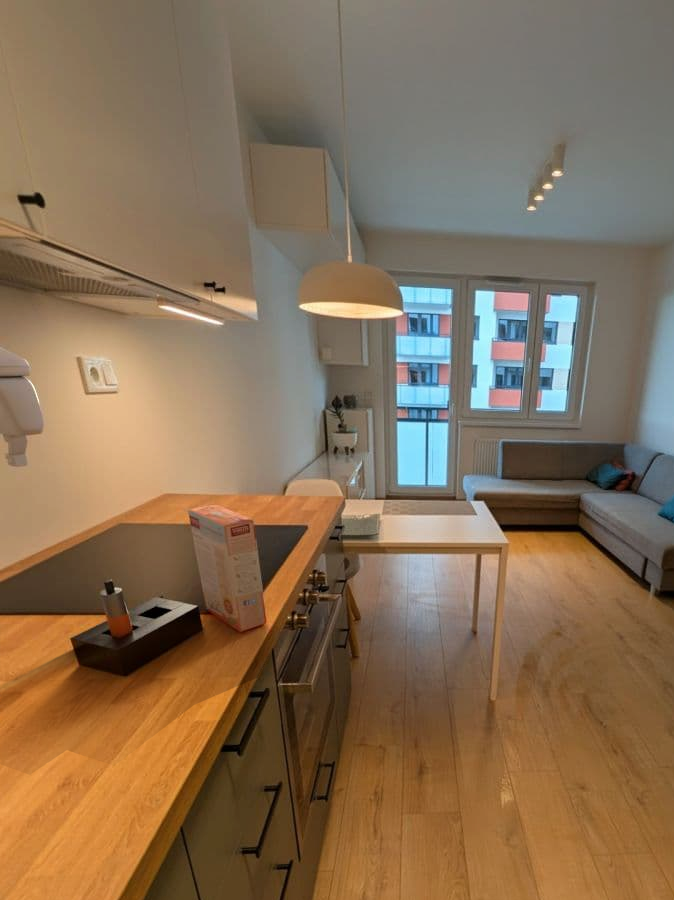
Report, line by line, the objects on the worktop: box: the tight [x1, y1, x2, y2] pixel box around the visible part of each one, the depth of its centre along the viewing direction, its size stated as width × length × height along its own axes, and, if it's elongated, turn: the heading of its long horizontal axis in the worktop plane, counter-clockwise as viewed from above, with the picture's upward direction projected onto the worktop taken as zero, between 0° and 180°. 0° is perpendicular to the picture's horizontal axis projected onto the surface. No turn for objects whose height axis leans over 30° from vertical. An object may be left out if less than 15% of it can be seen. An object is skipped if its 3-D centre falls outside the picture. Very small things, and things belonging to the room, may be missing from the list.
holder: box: [69, 596, 204, 678], centre depth 88 cm, size 10×17×5 cm, turn 162°
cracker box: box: [187, 504, 268, 633], centre depth 95 cm, size 14×6×21 cm, turn 48°
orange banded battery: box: [99, 579, 133, 638], centre depth 83 cm, size 3×3×14 cm
